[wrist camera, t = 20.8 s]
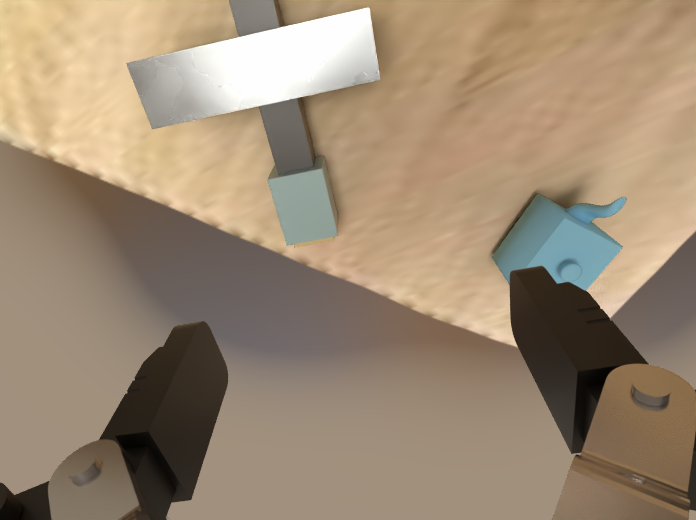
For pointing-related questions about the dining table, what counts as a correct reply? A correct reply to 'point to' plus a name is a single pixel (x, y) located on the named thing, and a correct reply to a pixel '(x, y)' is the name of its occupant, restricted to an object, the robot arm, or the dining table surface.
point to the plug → (291, 149)
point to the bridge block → (257, 69)
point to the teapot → (560, 241)
